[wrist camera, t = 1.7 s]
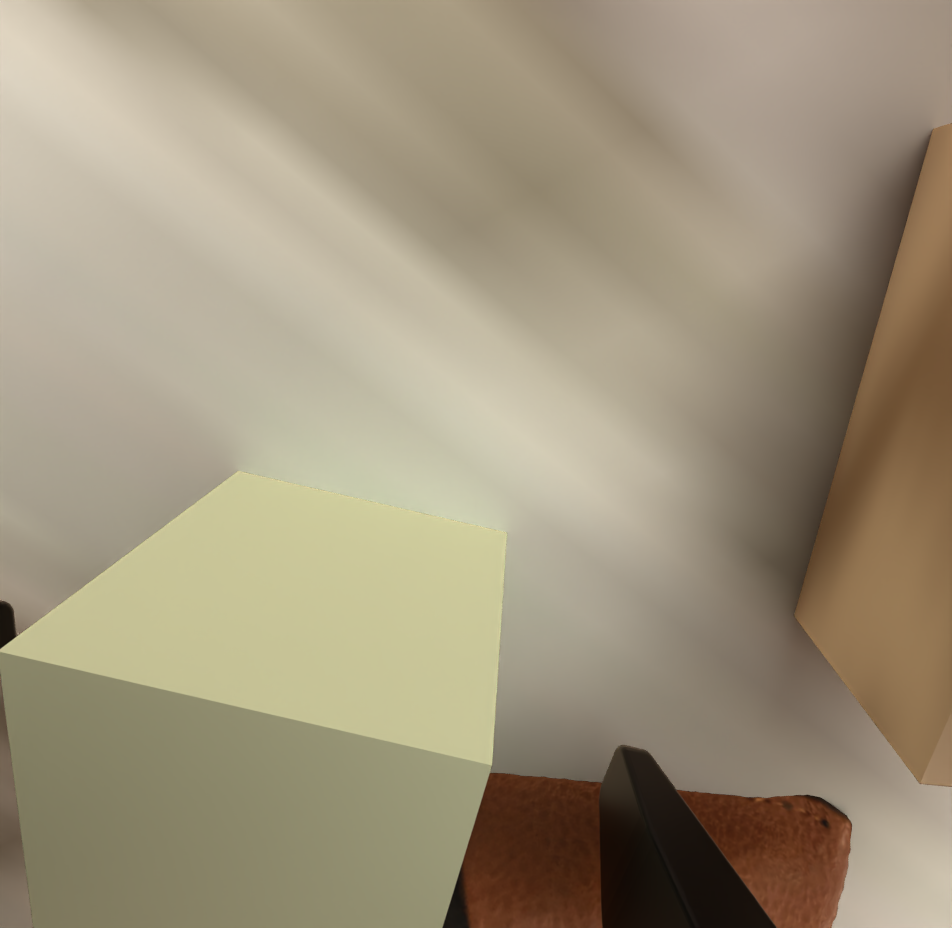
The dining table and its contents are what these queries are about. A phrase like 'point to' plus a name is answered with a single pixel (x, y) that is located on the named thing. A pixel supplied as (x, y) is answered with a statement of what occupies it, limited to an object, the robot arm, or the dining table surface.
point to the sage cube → (261, 718)
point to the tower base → (898, 502)
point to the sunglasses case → (578, 854)
